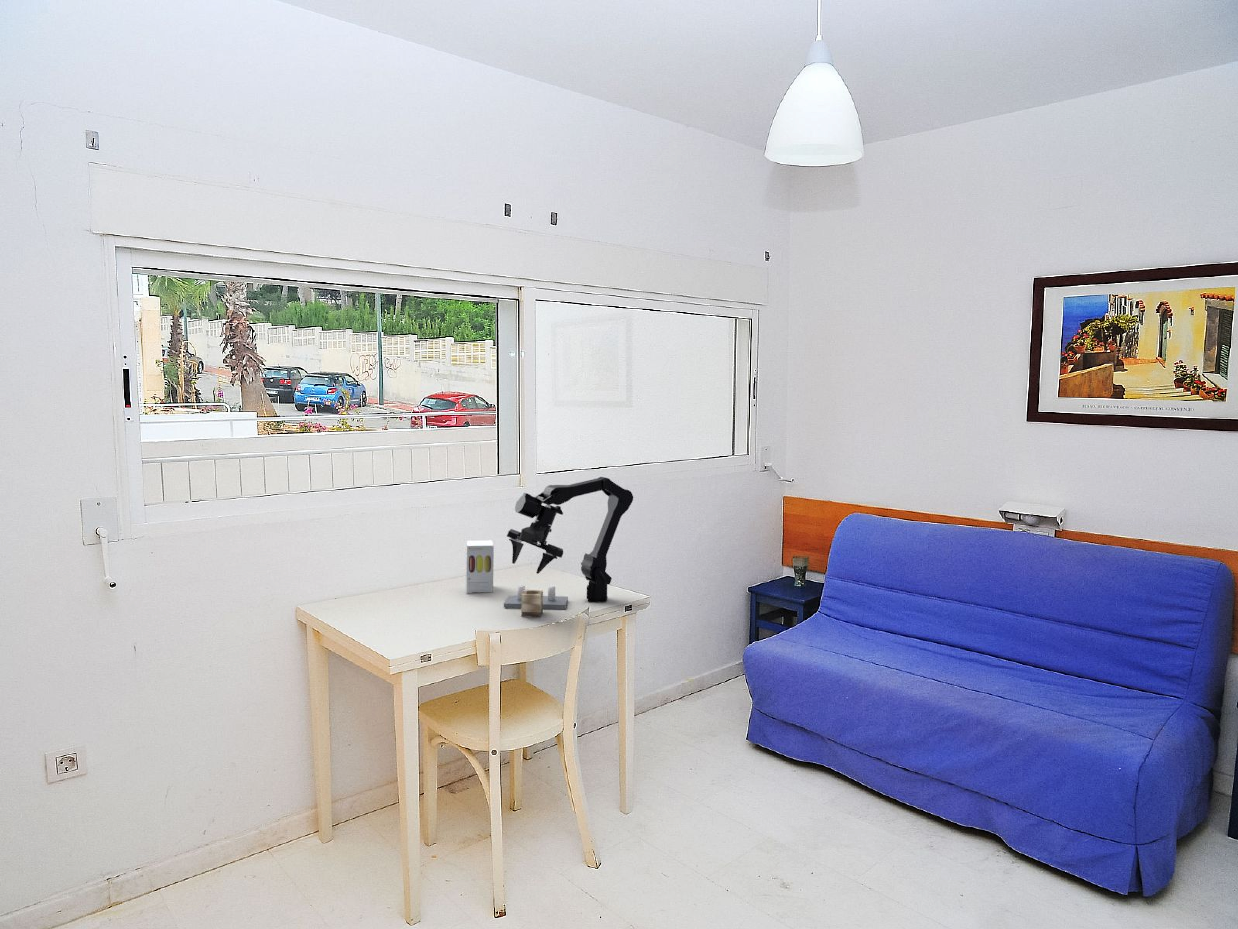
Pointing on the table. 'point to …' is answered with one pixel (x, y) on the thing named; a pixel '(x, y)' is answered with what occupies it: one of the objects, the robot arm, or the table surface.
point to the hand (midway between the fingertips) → (525, 568)
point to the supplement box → (479, 566)
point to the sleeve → (532, 603)
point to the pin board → (548, 601)
